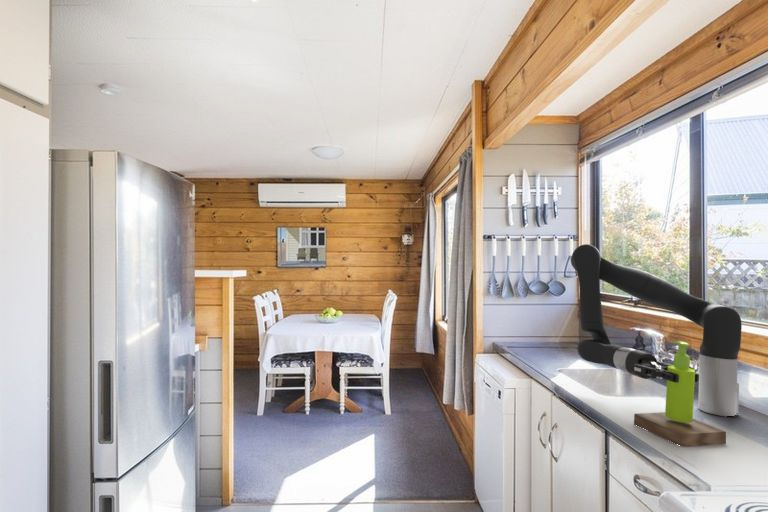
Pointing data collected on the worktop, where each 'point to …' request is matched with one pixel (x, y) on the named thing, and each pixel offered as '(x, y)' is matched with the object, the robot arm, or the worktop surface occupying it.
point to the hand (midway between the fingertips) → (687, 378)
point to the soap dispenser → (681, 387)
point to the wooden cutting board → (680, 430)
